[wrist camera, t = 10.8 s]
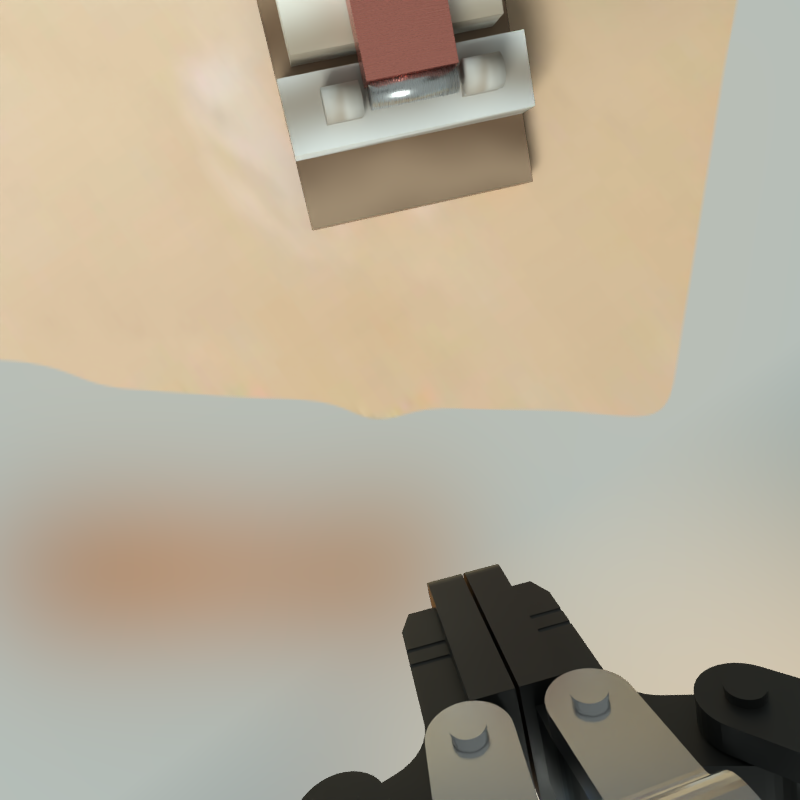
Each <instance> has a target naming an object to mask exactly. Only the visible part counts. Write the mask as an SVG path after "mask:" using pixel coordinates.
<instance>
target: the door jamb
mask: <svg viewBox="0 0 800 800" xmlns="http://www.w3.org/2000/svg"><path fill="white" fill-rule="evenodd" d="M257 4H258V8H259V12H260V16H261V20H262V24H263V28H264V33H265V37H266V41H267V45H268V49H269V53H270V57H271V61H272V65H273V70H274V74H275V78H276V82H277V86H278V90H279V94H280V98H281V103H282V107H283V111H284V115H285V119H286V123H287V127H288V131H289V136H290V140H291V144H292V148H293V152H294V156H295V160H296V164H297V169H298V173H299V177H300V181H301V185H302V189H303V193H304V197H305V202H306V206H307V210H308V214H309V218H310V222H311V226H312V230H317V229H322V228H326V227H331V226H335V225H340V224H344V223H349V222H353V221H358V220H362V219H367V218H371V217H376V216H380V215H385V214H390V213H394V212H399V211H403V210H408V209H412V208H417V207H421V206H426V205H430V204H435V203H439V202H444V201H448V200H453V199H457V198H462V197H466V196H471V195H475V194H480V193H484V192H489V191H493V190H498V189H502V188H507V187H511V186H516V185H520V184H525V183H529V182H532V181H533V178H532V172H531V165H530V159H529V152H528V146H527V139H526V133H525V126H524V120H523V113H524V112H525V111H527V110H529V109H530V108H532V107H534V106H535V100H534V93H533V87H532V80H531V73H530V66H529V60H528V53H527V46H526V39H525V33H524V29H522V30H518V31H513V32H510V28H509V22H508V15H507V9H506V2H505V0H448V4H449V9H450V15H451V21H452V26H453V32H454V38H455V43H456V49H457V55H458V60H459V63H458V64H457V65H456V67H457V70H458V74H459V81H460V89H459V92H458V93H455V94H450V95H445V96H440V97H436V98H431V99H426V100H421V101H416V102H412V103H407V104H402V105H397V106H392V107H388V108H383V109H378V110H373V111H372V110H371V107H370V104H369V99H368V94H367V88H365V89H364V86H363V81H362V76H361V72H360V67H359V62H358V58H357V53H356V48H355V43H354V39H353V34H352V29H351V25H350V20H349V15H348V10H347V6H346V1H345V0H257Z"/></svg>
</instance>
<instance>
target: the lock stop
mask: <svg viewBox="0 0 800 800" xmlns="http://www.w3.org/2000/svg"><path fill="white" fill-rule="evenodd" d="M345 1H346V6H347V10H348V15H349V20H350V25H351V29H352V34H353V39H354V43H355V48H356V53H357V58H358V62H359V67H360V72H361V76H362V81H363V86H364V89H365V88H367V94H368V99H369V104H370V107H371V110H372V111H373V110H378V109H383V108H388V107H392V106H397V105H402V104H407V103H412V102H416V101H421V100H426V99H431V98H436V97H440V96H445V95H450V94H455V93H458V92H459V89H460V81H459V74H458V70H457V67H456V65H457V64H458V63H459V60H458V55H457V49H456V43H455V38H454V32H453V26H452V21H451V15H450V9H449V4H448V0H345Z"/></svg>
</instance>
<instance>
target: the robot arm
mask: <svg viewBox="0 0 800 800" xmlns="http://www.w3.org/2000/svg"><path fill="white" fill-rule="evenodd" d="M463 575H464V578H463V576H462V575H461V574H459V575H456V576H452V577H448V578H444V579H440V580H437V581H433V582H430V583H427V586H428V591H429V596H430V601H431V605H432V608H431V609H427V610H423V611H420V612H416V613H412V614H409V615H408V618H407V620H406V623H405V626H404V629H403V632H402V634H403V638H404V642H405V646H406V650H407V655H408V659H409V662H410V667H411V671H412V675H413V679H414V683H415V687H416V691H417V696H418V700H419V704H420V707H421V712H422V716H423V720H424V724H425V737H424V742H423V744H422V747H421V749H420V751H419V753H418V754H417V756H416V757H415V758H414V759H413V760H412V762H411V763H410V764H408V765H407V766H406V767H405V768H404V769H403V770H401V771H400V772H399V773H397V774H395V775H394V776H392V777H391V778H389V779H387V780H386V781H384V782H383V783H381V782H380V781H379V780H378V779H377V778H375V777H374V776H372V775H370V774H367V773H363V772H354V771H351V772H343V773H339V774H336V775H333V776H331V777H328V778H326V779H325V780H323V781H321V782H320V783H319V784H317V785H315V786H314V787H313V788H312V789H311V790H310V791H309V792H308V793H307V794H306V795H305V796H304V797H303V799H302V800H538V798H537V795H536V792H537V794H538V797H539V799H540V800H800V678H796V677H793V676H790V675H786V674H783V673H780V672H776V671H773V670H770V669H766V668H763V667H760V666H756V665H751V664H744V663H727V664H721V665H717V666H714V667H711V668H709V669H707V670H705V671H704V672H703V673H701V674H700V675H699V677H698V678H697V679H696V682H695V684H694V695H649V694H643V693H638V692H636V691H635V689H634V688H633V687H632V686H631V685H630V684H629V683H628V682H627V681H626V680H625V679H623V678H622V677H621V676H619V675H617V674H615V673H612V672H609V671H606V670H603V668H602V667H601V666H600V664H599V663H598V661H597V660H596V658H595V657H594V655H593V654H592V653H591V651H590V650H589V648H588V647H587V645H586V644H585V643H584V641H583V640H582V638H581V637H580V635H579V634H578V633H577V631H576V630H575V628H574V627H573V625H572V624H570V622H569V620H568V618H567V617H566V615H565V614H564V612H563V611H561V609H560V607H559V605H558V604H557V602H556V601H555V599H554V598H553V597H552V595H551V594H550V592H548V591H547V590H545V589H543V588H541V587H539V586H538V585H536V584H534V583H532V582H530V581H529V582H526V583H522V584H518V585H515V586H511V584H510V583H509V581H508V579H507V578H506V576H505V575H504V572H503V571H502V569H501V568H500V566H499V565H498V564H496V565H492V566H488V567H485V568H481V569H477V570H474V571H470V572H466V573H464V574H463ZM535 790H536V791H535Z"/></svg>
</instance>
